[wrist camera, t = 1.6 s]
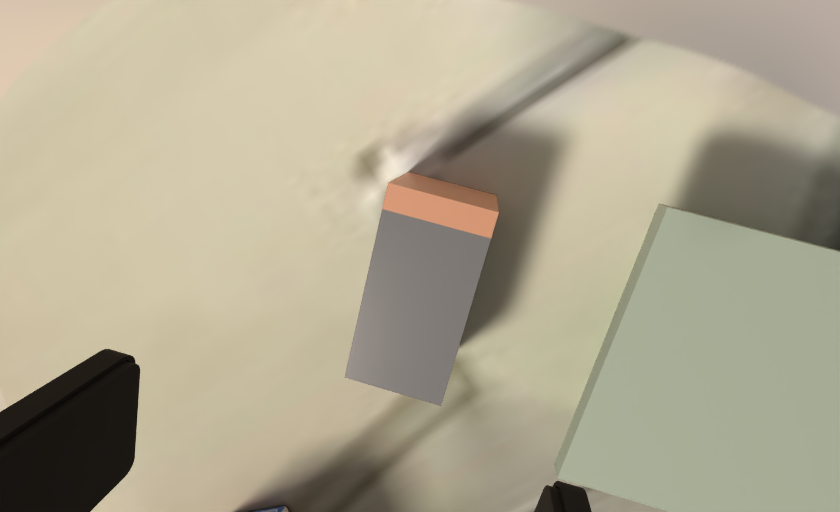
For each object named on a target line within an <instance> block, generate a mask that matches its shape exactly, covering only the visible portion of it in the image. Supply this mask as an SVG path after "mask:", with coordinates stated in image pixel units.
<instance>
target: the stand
mask: <svg viewBox="0 0 840 512" xmlns="http://www.w3.org/2000/svg"><path fill="white" fill-rule="evenodd" d="M554 465H555V469H556V474H557V478H559V479H562V480H565V481H569V482H572V483H575V484H579V485H582V486H585V487H588V488H592V489H595V490H598V491H602V492H605V493H608V494H612V495H615V496H618V497H621V498H625V499H628V500H631V501H635V502H638V503H641V504H645V505H648V506H651V507H655V508H658V509H661V510H664V511H668V512H840V251H839V250H836V249H832V248H828V247H824V246H820V245H816V244H812V243H809V242H805V241H801V240H797V239H793V238H789V237H786V236H782V235H778V234H774V233H770V232H766V231H763V230H759V229H755V228H751V227H747V226H743V225H740V224H736V223H732V222H728V221H724V220H720V219H716V218H713V217H709V216H705V215H701V214H697V213H693V212H690V211H686V210H682V209H678V208H674V207H670V206H667V205H663V204H658V207H657V209H656V212H655V214H654V217H653V219H652V222H651V224H650V227H649V229H648V232H647V234H646V237H645V239H644V242H643V244H642V247H641V249H640V252H639V254H638V257H637V259H636V262H635V264H634V267H633V269H632V272H631V274H630V277H629V279H628V282H627V284H626V287H625V289H624V292H623V294H622V297H621V299H620V302H619V304H618V307H617V309H616V312H615V314H614V317H613V319H612V322H611V324H610V327H609V329H608V332H607V334H606V337H605V339H604V342H603V344H602V347H601V349H600V352H599V354H598V357H597V359H596V362H595V364H594V367H593V369H592V372H591V374H590V377H589V379H588V382H587V384H586V387H585V389H584V392H583V394H582V397H581V399H580V402H579V404H578V407H577V409H576V412H575V414H574V417H573V419H572V422H571V424H570V427H569V429H568V432H567V434H566V437H565V439H564V441H563V444H562V446H561V449H560V451H559V454H558V456H557V459H556V461H555V464H554Z"/></svg>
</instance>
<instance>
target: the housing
mask: <svg viewBox="0 0 840 512" xmlns="http://www.w3.org/2000/svg"><path fill="white" fill-rule="evenodd" d="M498 214H499V209H498V203H497V196H496V195H494V194H490V193H486V192H483V191H479V190H475V189H471V188H467V187H464V186H460V185H456V184H452V183H449V182H445V181H441V180H437V179H434V178H430V177H426V176H422V175H418V174H415V173H411V172H407V173H405V174H403V175H401V176H400V177H398V178H396V179H394V180H392V181H391V182H389V183H388V186H387V190H386V195H385V199H384V204H383V208H382V213H381V217H380V222H379V226H378V230H377V235H376V239H375V244H374V248H373V253H372V257H371V262H370V266H369V271H368V275H367V280H366V284H365V288H364V293H363V297H362V302H361V306H360V311H359V315H358V320H357V324H356V329H355V333H354V338H353V342H352V346H351V351H350V355H349V360H348V364H347V369H346V373H345V378H348V379H352V380H355V381H359V382H362V383H365V384H369V385H372V386H375V387H379V388H382V389H386V390H389V391H392V392H396V393H399V394H402V395H406V396H409V397H413V398H416V399H419V400H423V401H426V402H429V403H433V404H436V405H439V406H441V404H442V401H443V398H444V394H445V391H446V388H447V384H448V381H449V378H450V374H451V371H452V368H453V364H454V361H455V358H456V354H457V351H458V348H459V344H460V341H461V338H462V334H463V331H464V328H465V324H466V321H467V318H468V314H469V311H470V308H471V304H472V301H473V298H474V294H475V291H476V288H477V284H478V281H479V278H480V274H481V271H482V268H483V264H484V261H485V258H486V254H487V251H488V248H489V244H490V241H491V238H492V234H493V231H494V228H495V224H496V221H497V218H498Z"/></svg>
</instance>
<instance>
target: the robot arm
mask: <svg viewBox="0 0 840 512" xmlns="http://www.w3.org/2000/svg"><path fill="white" fill-rule="evenodd" d="M139 379H140V367H139V365H137V364H135V359H134V357H133V356H131V355H127V354H124V353H121V352H117V351H114V350H110V349H104V350H102V351H100V352H98V353H97V354H95V355H93V356H92V357H90V358H88V359H87V360H85V361H84V362H82V363H80V364H79V365H77V366H75V367H74V368H72V369H70V370H69V371H67V372H65V373H64V374H62V375H60V376H59V377H57V378H56V379H54V380H52V381H51V382H49V383H47V384H46V385H44V386H42V387H41V388H39V389H37V390H36V391H34V392H33V393H31V394H29V395H28V396H26V397H24V398H23V399H21V400H19V401H18V402H16V403H14V404H13V405H11V406H9V407H8V408H6V409H5V410H3V411H1V412H0V512H90V511H91V510H92V509H93V508H94V507H95V506H96V505H97V504H98V503H99V502H100V501H101V500H102V499H103V498H104V497H105V496H106V495H107V494H108V493H109V492H110V491H111V490H112V489H113V488H114V487H115V486H116V485H117V484H118V483H119V482H120V481H121V480H122V479H123V478H124V477H125V476H126V475H127V474H128V472H129V471H130V469H131V467H132V465H133V462H134V458H135V442H136V426H137V410H138V395H139ZM534 512H591V508H590V505H589V501H588V497H587V494H586V492H585V490H584V489H583V488H580V487H577V486H574V485H570V484H567V483H563V482H560V481H556V482H555V483H554V485H553V487H552V486H548V485H546V486H545V488H544V489H543V492H542V494H541V497H540V499H539V502H538V504H537V506H536V509H535V511H534Z"/></svg>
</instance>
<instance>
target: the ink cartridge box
mask: <svg viewBox="0 0 840 512" xmlns="http://www.w3.org/2000/svg"><path fill="white" fill-rule="evenodd" d="M254 512H289V511H288V509H287V508H286V507H285V506H282V507H276V508H271V509H265V510H259V511H254Z"/></svg>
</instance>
